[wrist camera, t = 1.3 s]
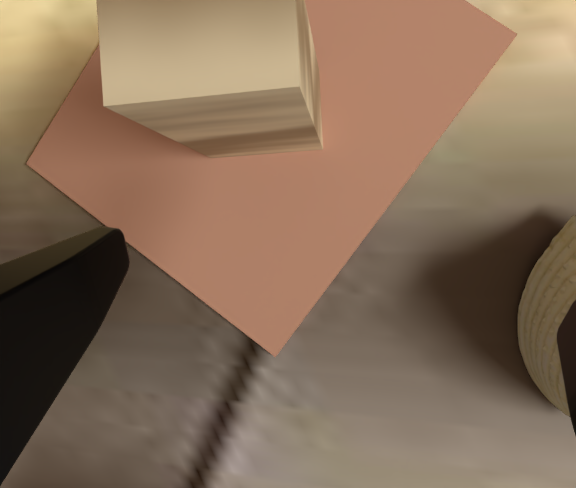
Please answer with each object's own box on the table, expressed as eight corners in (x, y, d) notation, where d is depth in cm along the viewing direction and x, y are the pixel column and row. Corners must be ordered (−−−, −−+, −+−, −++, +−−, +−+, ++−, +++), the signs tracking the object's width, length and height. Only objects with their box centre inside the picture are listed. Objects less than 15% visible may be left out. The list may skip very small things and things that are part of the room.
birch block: (323, 149, 22) (299, 86, 12) (211, 158, 23) (103, 106, 13) (319, 70, 22) (292, -59, 12) (206, 82, 23) (94, -29, 13)
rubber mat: (276, 354, 23) (275, 357, 23) (30, 164, 25) (26, 163, 24) (514, 37, 21) (517, 34, 20) (224, -150, 22) (221, -156, 22)
